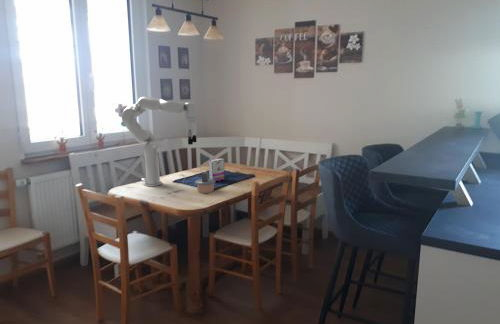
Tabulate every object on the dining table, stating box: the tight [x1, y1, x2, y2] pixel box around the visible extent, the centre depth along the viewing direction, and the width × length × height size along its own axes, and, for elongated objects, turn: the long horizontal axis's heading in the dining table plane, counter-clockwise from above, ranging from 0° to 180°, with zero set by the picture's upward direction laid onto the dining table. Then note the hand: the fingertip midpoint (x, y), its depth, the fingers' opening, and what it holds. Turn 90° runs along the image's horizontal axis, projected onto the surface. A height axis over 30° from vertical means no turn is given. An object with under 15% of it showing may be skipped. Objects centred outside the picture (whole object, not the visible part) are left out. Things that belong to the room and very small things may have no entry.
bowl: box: [196, 183, 215, 194], centre depth 274 cm, size 11×11×6 cm
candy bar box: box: [208, 158, 226, 183], centre depth 299 cm, size 11×5×16 cm, turn 129°
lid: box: [194, 171, 216, 185], centre depth 273 cm, size 14×14×7 cm
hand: (192, 143), depth 286 cm, fingers open, 9 cm apart
